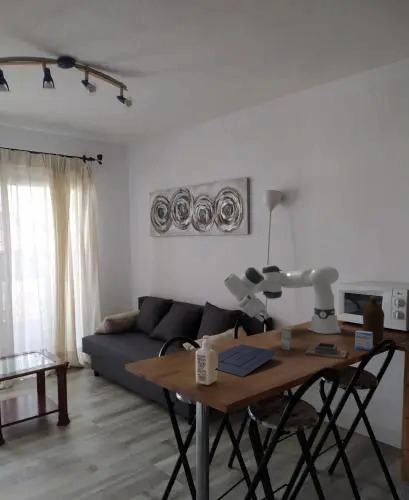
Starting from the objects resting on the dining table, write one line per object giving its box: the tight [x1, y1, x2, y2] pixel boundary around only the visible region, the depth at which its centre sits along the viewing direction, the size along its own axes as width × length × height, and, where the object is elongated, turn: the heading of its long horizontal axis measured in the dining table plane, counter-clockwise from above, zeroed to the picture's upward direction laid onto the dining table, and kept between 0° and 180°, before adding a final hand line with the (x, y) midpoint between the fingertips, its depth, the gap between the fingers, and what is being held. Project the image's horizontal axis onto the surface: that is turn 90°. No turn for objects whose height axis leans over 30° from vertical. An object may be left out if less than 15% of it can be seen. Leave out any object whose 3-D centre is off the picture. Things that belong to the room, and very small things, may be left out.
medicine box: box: [354, 330, 374, 351], centre depth 202 cm, size 8×4×9 cm, turn 62°
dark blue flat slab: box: [218, 343, 278, 378], centre depth 179 cm, size 24×30×4 cm
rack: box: [304, 342, 348, 360], centre depth 193 cm, size 12×18×4 cm, turn 65°
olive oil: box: [362, 295, 385, 346], centre depth 213 cm, size 11×11×25 cm
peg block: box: [280, 327, 292, 351], centre depth 203 cm, size 4×4×10 cm
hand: (265, 319), depth 208 cm, fingers open, 8 cm apart
